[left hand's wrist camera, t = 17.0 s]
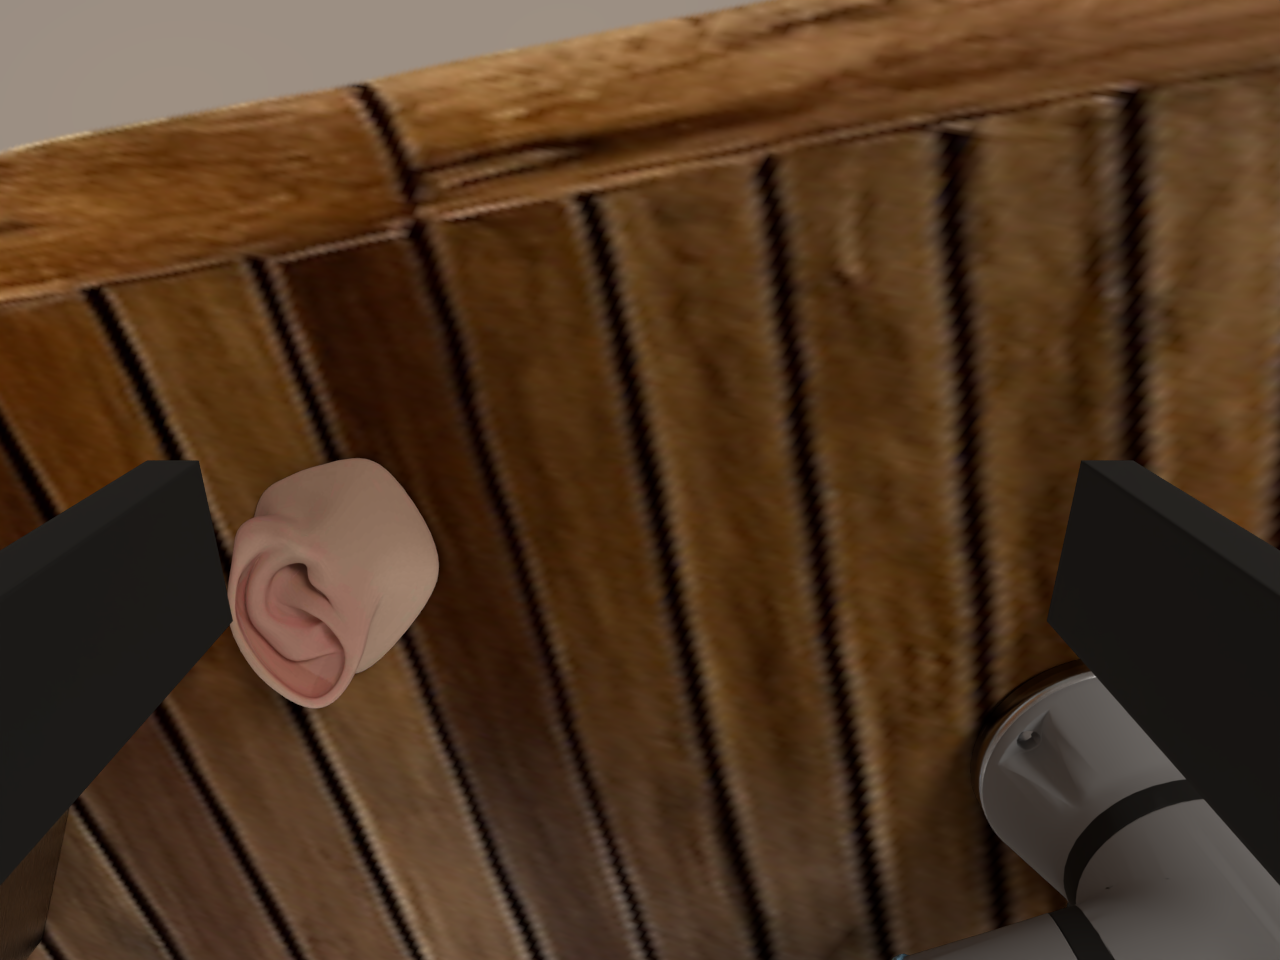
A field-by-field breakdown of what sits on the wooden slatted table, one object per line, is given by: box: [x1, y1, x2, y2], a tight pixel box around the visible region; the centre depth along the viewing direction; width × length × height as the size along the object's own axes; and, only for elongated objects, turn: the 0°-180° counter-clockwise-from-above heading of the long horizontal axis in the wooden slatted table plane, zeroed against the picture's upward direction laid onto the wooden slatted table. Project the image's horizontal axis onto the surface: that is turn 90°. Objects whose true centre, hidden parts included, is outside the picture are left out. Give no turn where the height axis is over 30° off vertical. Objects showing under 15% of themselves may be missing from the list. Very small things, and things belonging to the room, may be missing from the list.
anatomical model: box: [227, 458, 439, 708], centre depth 45 cm, size 13×4×12 cm
